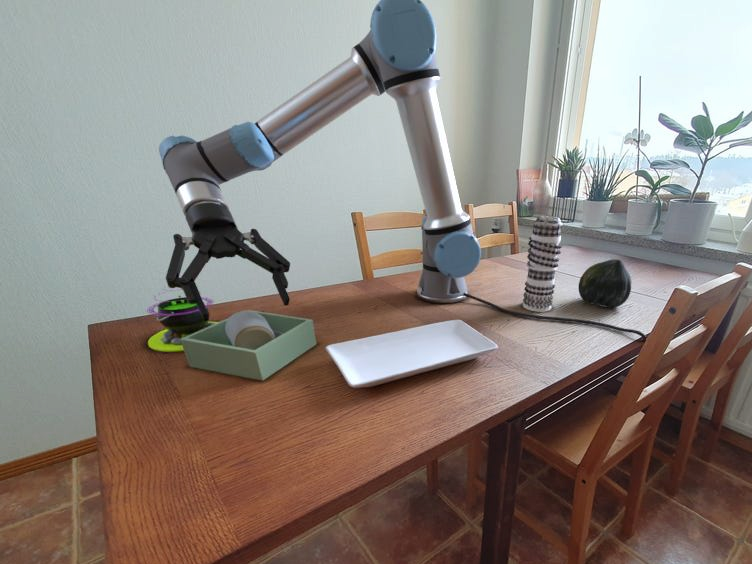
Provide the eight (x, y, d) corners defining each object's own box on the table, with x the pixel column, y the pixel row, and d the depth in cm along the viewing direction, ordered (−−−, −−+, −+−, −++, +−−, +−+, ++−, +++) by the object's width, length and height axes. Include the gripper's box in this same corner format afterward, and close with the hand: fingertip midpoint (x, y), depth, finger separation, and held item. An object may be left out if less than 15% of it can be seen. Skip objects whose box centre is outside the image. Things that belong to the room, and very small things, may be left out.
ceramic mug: (239, 365, 71) (229, 327, 67) (230, 348, 76) (220, 313, 72) (297, 351, 77) (291, 316, 73) (285, 337, 82) (279, 304, 79)
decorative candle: (514, 305, 110) (523, 215, 98) (535, 299, 116) (546, 213, 104) (538, 314, 104) (551, 220, 93) (558, 307, 110) (573, 218, 98)
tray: (500, 360, 80) (501, 345, 78) (352, 402, 63) (350, 385, 62) (459, 331, 92) (459, 318, 90) (326, 360, 76) (323, 345, 74)
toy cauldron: (167, 324, 86) (150, 277, 81) (240, 321, 90) (227, 276, 85) (132, 354, 74) (109, 301, 68) (218, 349, 77) (202, 298, 72)
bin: (316, 344, 82) (312, 319, 79) (262, 380, 68) (255, 352, 65) (253, 333, 85) (247, 309, 82) (189, 366, 71) (179, 339, 68)
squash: (574, 276, 121) (589, 247, 107) (619, 280, 122) (640, 252, 107) (574, 315, 117) (589, 290, 102) (621, 319, 117) (643, 296, 103)
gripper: (275, 222, 83) (313, 305, 80) (128, 231, 68) (169, 334, 65) (278, 198, 77) (318, 287, 74) (117, 202, 62) (162, 315, 59)
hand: (249, 309), depth 70 cm, fingers open, 13 cm apart
